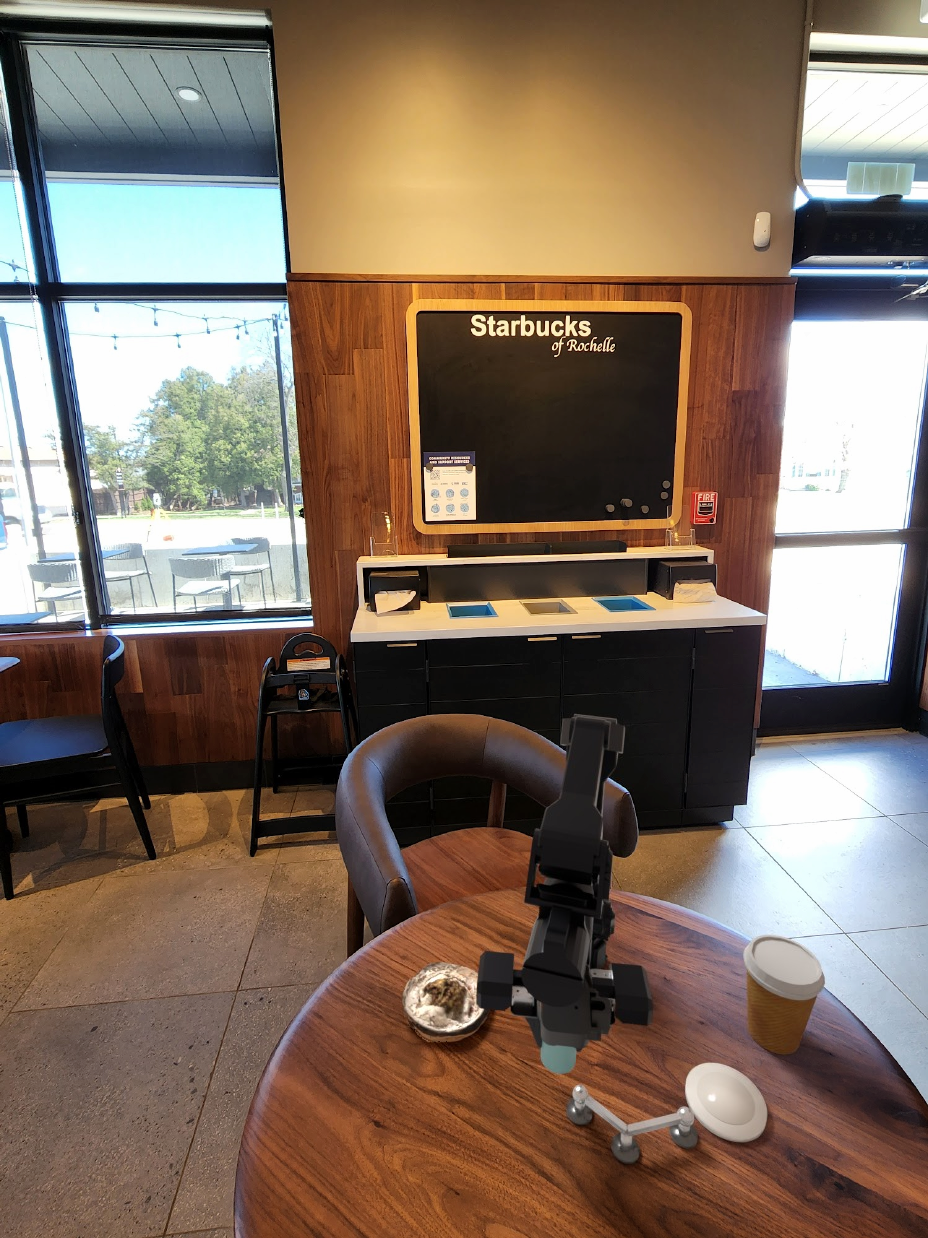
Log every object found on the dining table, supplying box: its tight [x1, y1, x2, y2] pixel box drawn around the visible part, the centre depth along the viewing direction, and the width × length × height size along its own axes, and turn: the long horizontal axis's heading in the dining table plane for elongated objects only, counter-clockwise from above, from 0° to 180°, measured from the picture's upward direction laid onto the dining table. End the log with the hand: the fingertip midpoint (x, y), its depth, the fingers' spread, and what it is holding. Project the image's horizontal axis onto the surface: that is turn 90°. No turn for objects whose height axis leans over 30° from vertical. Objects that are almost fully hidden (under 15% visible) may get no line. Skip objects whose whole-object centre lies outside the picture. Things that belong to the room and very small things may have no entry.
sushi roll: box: [401, 961, 490, 1043], centre depth 88 cm, size 15×15×4 cm
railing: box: [566, 1084, 698, 1165], centre depth 72 cm, size 13×9×4 cm
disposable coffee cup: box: [742, 934, 826, 1056], centre depth 83 cm, size 10×10×12 cm
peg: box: [540, 1040, 577, 1075], centre depth 71 cm, size 4×4×7 cm
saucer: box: [684, 1062, 768, 1143], centre depth 75 cm, size 9×9×1 cm
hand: (558, 1046), depth 71 cm, fingers closed on peg, 4 cm apart
